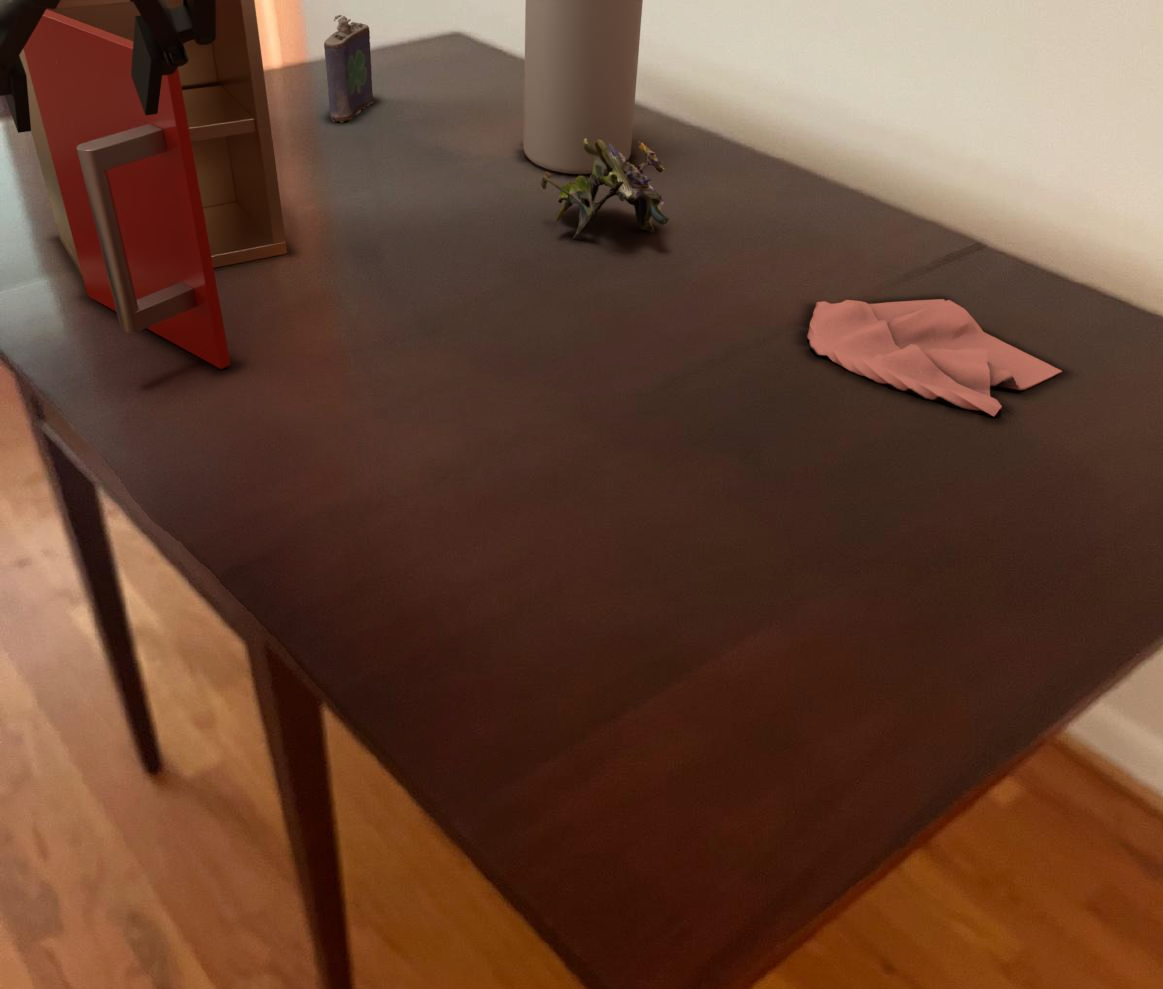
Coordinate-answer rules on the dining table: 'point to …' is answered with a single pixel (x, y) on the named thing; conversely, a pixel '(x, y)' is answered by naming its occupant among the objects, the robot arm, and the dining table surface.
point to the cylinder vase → (579, 79)
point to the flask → (348, 69)
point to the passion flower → (613, 186)
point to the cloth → (923, 350)
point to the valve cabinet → (203, 129)
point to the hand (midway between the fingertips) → (82, 102)
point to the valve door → (127, 186)
